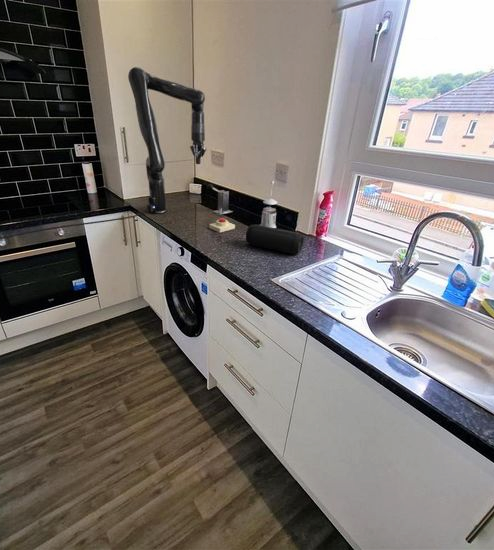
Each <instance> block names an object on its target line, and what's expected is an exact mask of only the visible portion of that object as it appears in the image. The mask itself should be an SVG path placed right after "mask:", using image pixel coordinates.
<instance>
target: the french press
mask: <svg viewBox="0 0 494 550" xmlns="http://www.w3.org/2000/svg"><path fill="white" fill-rule="evenodd" d="M270 184H271V186H273V184H275V181H274V180H271V181H270ZM270 191H271V192H270V195H272V194H273V189H271V190H270ZM262 203H263V204H264V205H269V206H266V207H263V210H262V212H261V222H260V224H259V225H262V226H267V227H272V228H277V225H276V219H277V209H276V208H275V207H274V208H273V207H271V206H274V205H277V204H278V201H277V200H275V199H272V198H267V199H264V200H263V201H262Z"/></svg>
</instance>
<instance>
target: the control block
mask: <svg viewBox="0 0 494 550" xmlns="http://www.w3.org/2000/svg"><path fill="white" fill-rule="evenodd" d="M208 228H209V229H211V230H213V231H215V232H217V233H223V232H227V231H232V230H235V229H236V224H234V223H232V222H229V221H228V220H227V219H226V222H224V223H221V222H219V219H216V221H215V222H213V223H209V224H208Z"/></svg>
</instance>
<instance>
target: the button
mask: <svg viewBox="0 0 494 550" xmlns="http://www.w3.org/2000/svg"><path fill="white" fill-rule="evenodd" d="M218 220H219V222H221V223H224V222H226V220H227V219H226V218H225V217H219V218H218Z"/></svg>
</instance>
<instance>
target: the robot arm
mask: <svg viewBox="0 0 494 550" xmlns="http://www.w3.org/2000/svg"><path fill="white" fill-rule="evenodd" d="M127 78H128V82H129V85H130V88H131V91H132V94H133V98H134V103H135V111H136V116H137V123H138V127H139V131H140V134H141V136H142V139H143V141H144V143H145V146H146V148H147V153H148V156H147V157H146V159H145V169H146V170H145V171H146V178H147V181H148V191H149V193H148V194H149V196H148V203H147V204H146V207H145V208H143V209H142V210H141V211H140V212H138V213H137V214H135V215H130V216H129V215H128V216H125V217H119V218H112V219H104V220H97V221H90V222H89V221H88V222H81V223H73V224H66V225H59V226H52V227H46V228H40V229H33V230H29V231H23V232H18V233H14V234H8V235H5V236H0V240H3V239H8V238H12V237H17V236H21V235H27V234H32V233H37V232H38V233H39V232H43V231H48V230H49V231H50V230H55V229H62V228H69V227H77V226H85V225H92V224H100V223H108V222H114V221H120V220H121V221H122V220H126V219H132V218H135V217H138V216H140V215H141V214H142V213H144V212H145V211H147V210H148V211H149V212H150V213H152V214H154V215H156V214H163V213H167V206H166V187H165V177H164V176H163V171H164V169H165V167H166V163H165V158H164V156H163V153H162V149H161V144H160V138H159V132H158V125H157V121H156V117H155V113H154V109H153V107H152V104H151V101H150V97H149V96H150V95H149V91H150V90H151V91H154V92H158V93H161V94H162V95H165V96H168V97H169V98H173V99H175V100H179V101H183V102H187V103H190V105H191V125H190V126H191V127H190V129H191V130H190V132H191V133H190V134H191V136H190V137H191V142H192V145H190V147H189V148H190V151H191V153H192V155H193V156H194V158H195V164H196V165H201V162H202V161H201V160H202V159H201V158H203V157H204V156H205V154H206V151H207V147H205V146H204V142H205V141H206V126H205V111H204V109H205V107H204V106H205V105H204V103H205V100H206V96H205V93H204V92H203V91H201V89H197V88H193V87H188V86H186V85H183V84H180V83H178V82H175V81H171V80H168V79H163V78H160V77H157V76H154V75H152V74H151V73H148V72H147V71H145V70H144V69H142V68H141V67H138V66H134V67H131V68H130V70H129V71H128V75H127Z"/></svg>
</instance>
